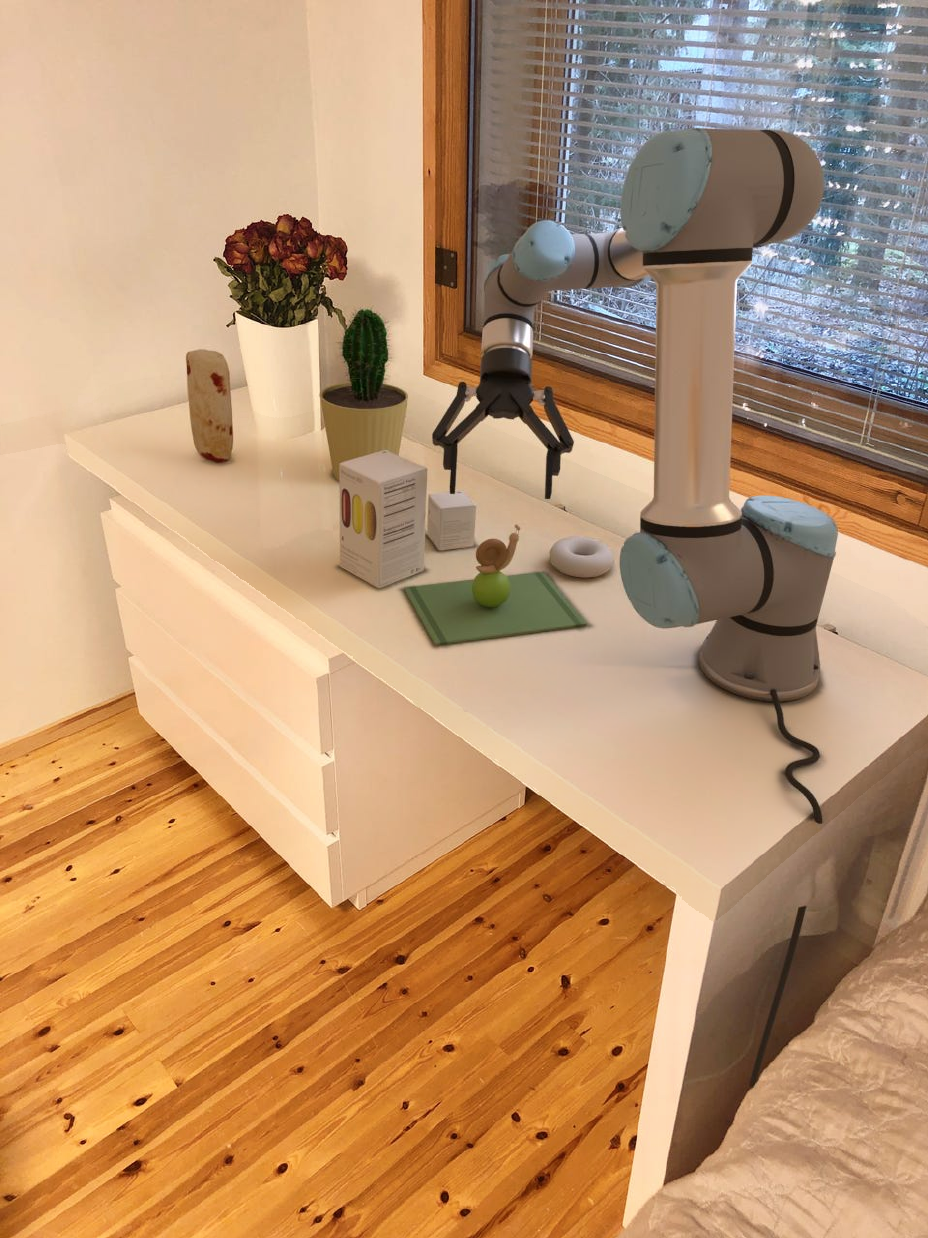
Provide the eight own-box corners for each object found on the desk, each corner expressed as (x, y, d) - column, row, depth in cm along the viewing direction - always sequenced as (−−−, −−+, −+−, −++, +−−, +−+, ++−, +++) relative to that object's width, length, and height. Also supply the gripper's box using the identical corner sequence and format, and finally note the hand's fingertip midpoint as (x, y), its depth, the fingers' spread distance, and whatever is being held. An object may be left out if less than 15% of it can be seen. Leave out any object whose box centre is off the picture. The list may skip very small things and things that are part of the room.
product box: (426, 535, 168) (427, 493, 164) (461, 530, 170) (463, 489, 166) (438, 551, 163) (440, 508, 159) (474, 546, 165) (477, 504, 161)
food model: (184, 455, 193) (173, 348, 183) (212, 446, 197) (204, 341, 187) (218, 470, 188) (209, 360, 177) (247, 460, 192) (240, 352, 182)
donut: (544, 577, 157) (610, 585, 156) (545, 557, 156) (612, 564, 154) (552, 549, 166) (615, 556, 164) (554, 529, 164) (617, 536, 163)
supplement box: (337, 567, 157) (336, 461, 149) (383, 549, 163) (384, 447, 154) (379, 590, 151) (380, 482, 143) (426, 571, 157) (429, 466, 149)
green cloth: (586, 625, 145) (586, 623, 145) (435, 645, 139) (435, 643, 139) (543, 573, 158) (543, 571, 158) (403, 589, 152) (403, 587, 152)
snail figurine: (521, 610, 147) (527, 533, 141) (479, 616, 145) (484, 539, 139) (506, 592, 152) (511, 517, 146) (465, 598, 149) (469, 522, 143)
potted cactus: (328, 455, 196) (324, 292, 181) (410, 460, 196) (413, 297, 181) (314, 488, 182) (310, 314, 167) (402, 493, 182) (405, 320, 167)
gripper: (588, 374, 157) (585, 507, 151) (422, 366, 157) (413, 498, 151) (594, 349, 149) (591, 487, 144) (421, 340, 150) (411, 477, 144)
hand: (500, 493), depth 148 cm, fingers open, 13 cm apart
